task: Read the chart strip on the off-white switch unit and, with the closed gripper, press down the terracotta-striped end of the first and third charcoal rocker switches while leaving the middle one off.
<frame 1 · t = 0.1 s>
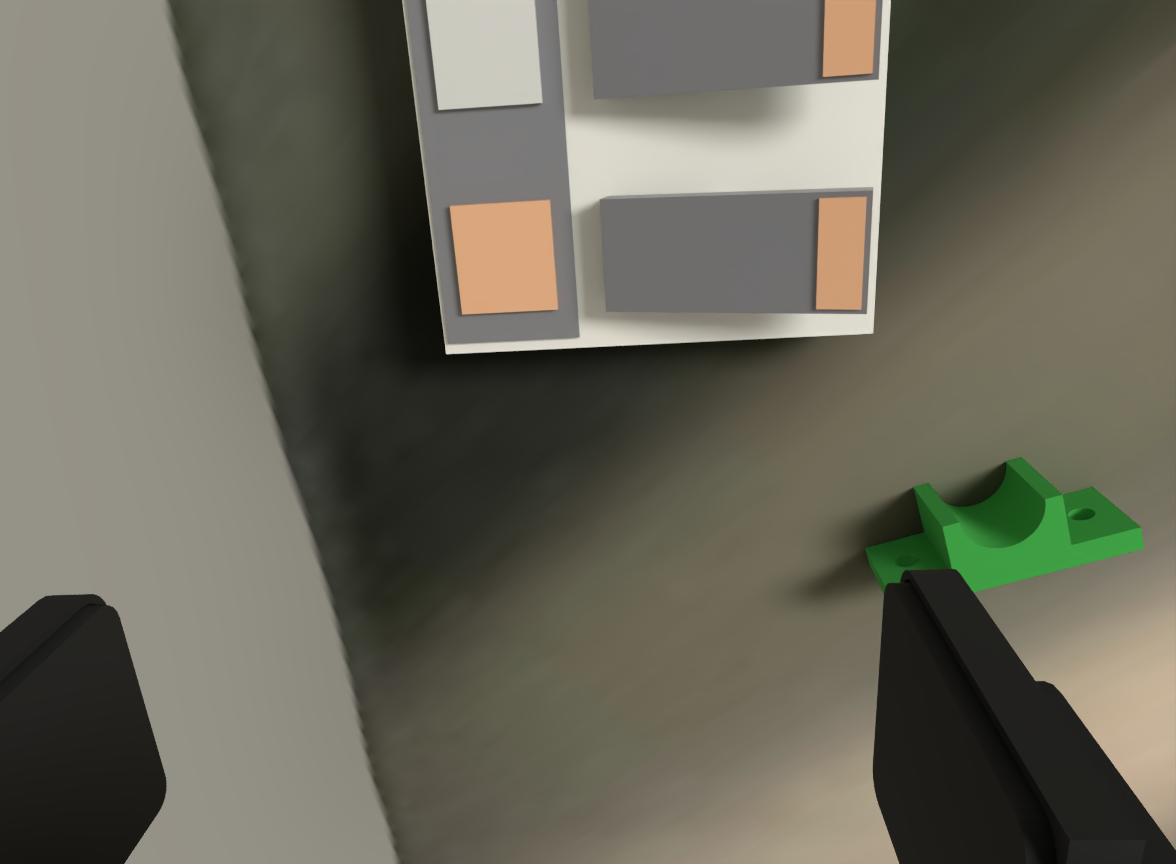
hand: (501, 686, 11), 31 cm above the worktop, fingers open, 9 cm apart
pipe clamp: (973, 503, 43), on the worktop
switch unit: (643, 40, 36), on the worktop
rocker 2: (731, 22, 30), point 6 cm above the worktop, hinge at 15.0°
rocker 3: (732, 253, 33), point 6 cm above the worktop, hinge at 15.0°
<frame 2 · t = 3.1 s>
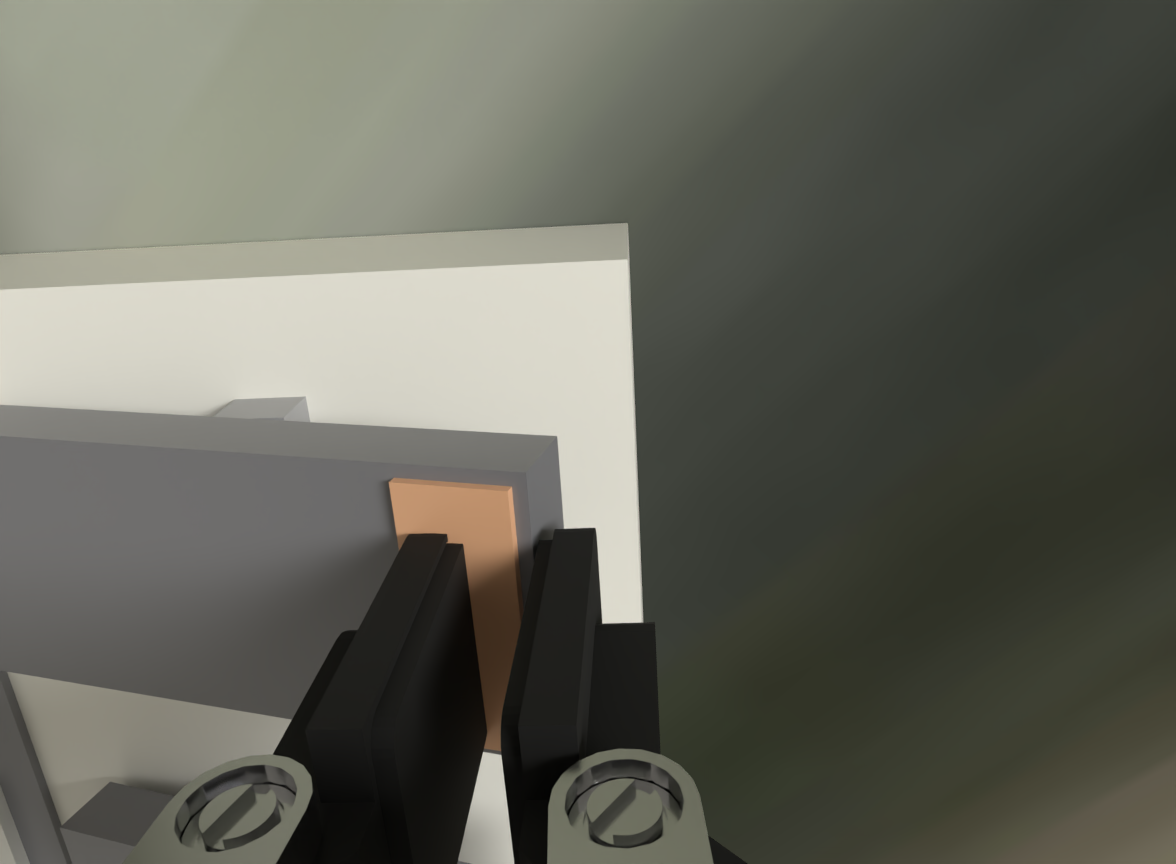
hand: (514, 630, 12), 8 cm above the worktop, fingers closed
switch unit: (289, 725, 22), on the worktop
rocker 1: (239, 570, 13), point 6 cm above the worktop, hinge at 13.9°, touching gripper
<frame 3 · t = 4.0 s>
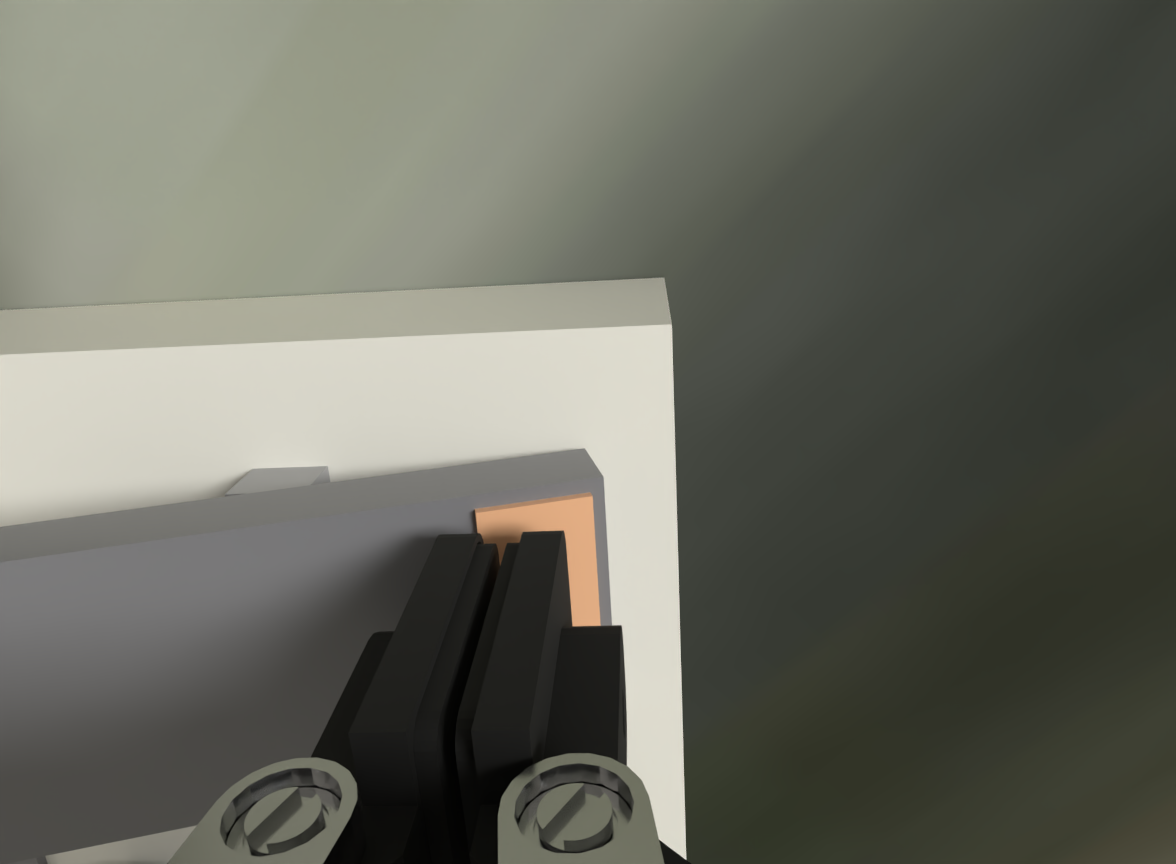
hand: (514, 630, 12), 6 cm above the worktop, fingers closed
switch unit: (303, 795, 21), on the worktop
rocker 1: (258, 656, 12), point 6 cm above the worktop, hinge at -16.0°
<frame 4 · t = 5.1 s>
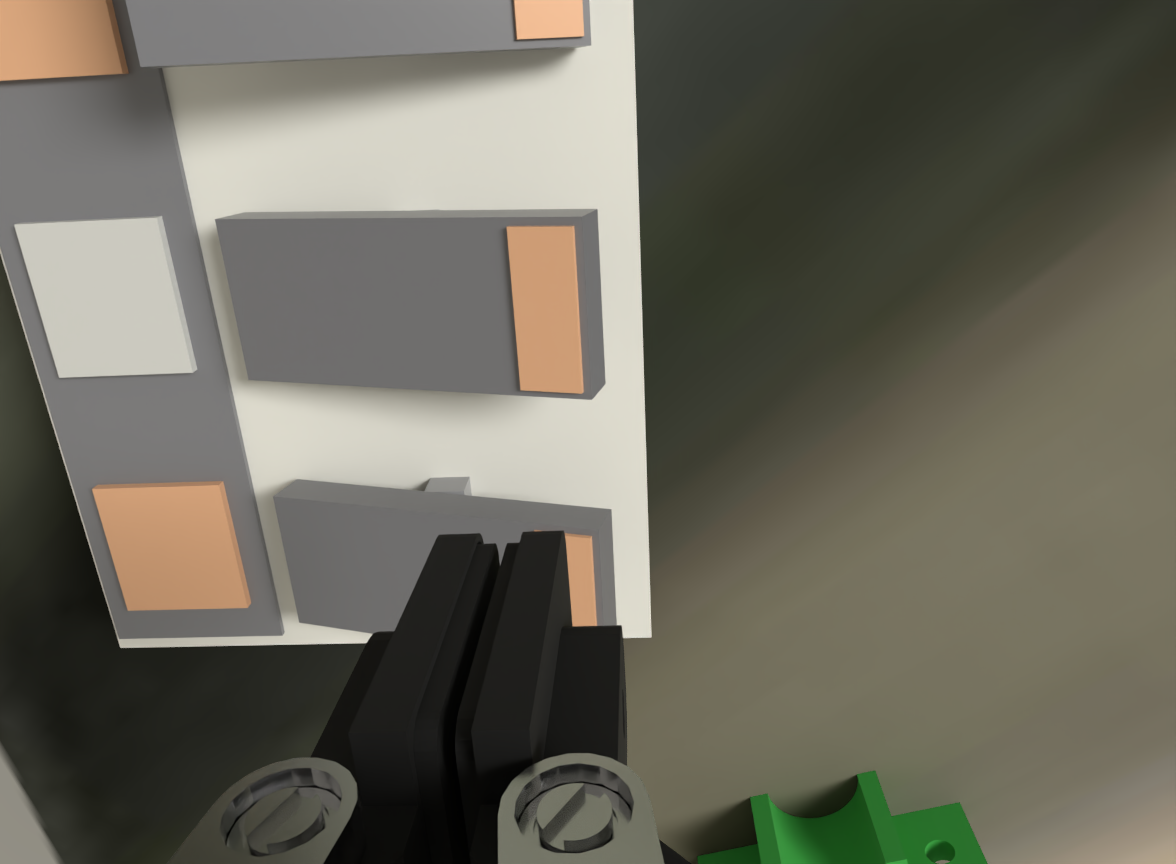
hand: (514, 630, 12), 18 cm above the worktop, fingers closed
pipe clamp: (822, 812, 37), on the worktop
switch unit: (361, 260, 28), on the worktop
rocker 2: (407, 301, 22), point 6 cm above the worktop, hinge at 15.0°
rocker 3: (443, 571, 25), point 6 cm above the worktop, hinge at 15.0°
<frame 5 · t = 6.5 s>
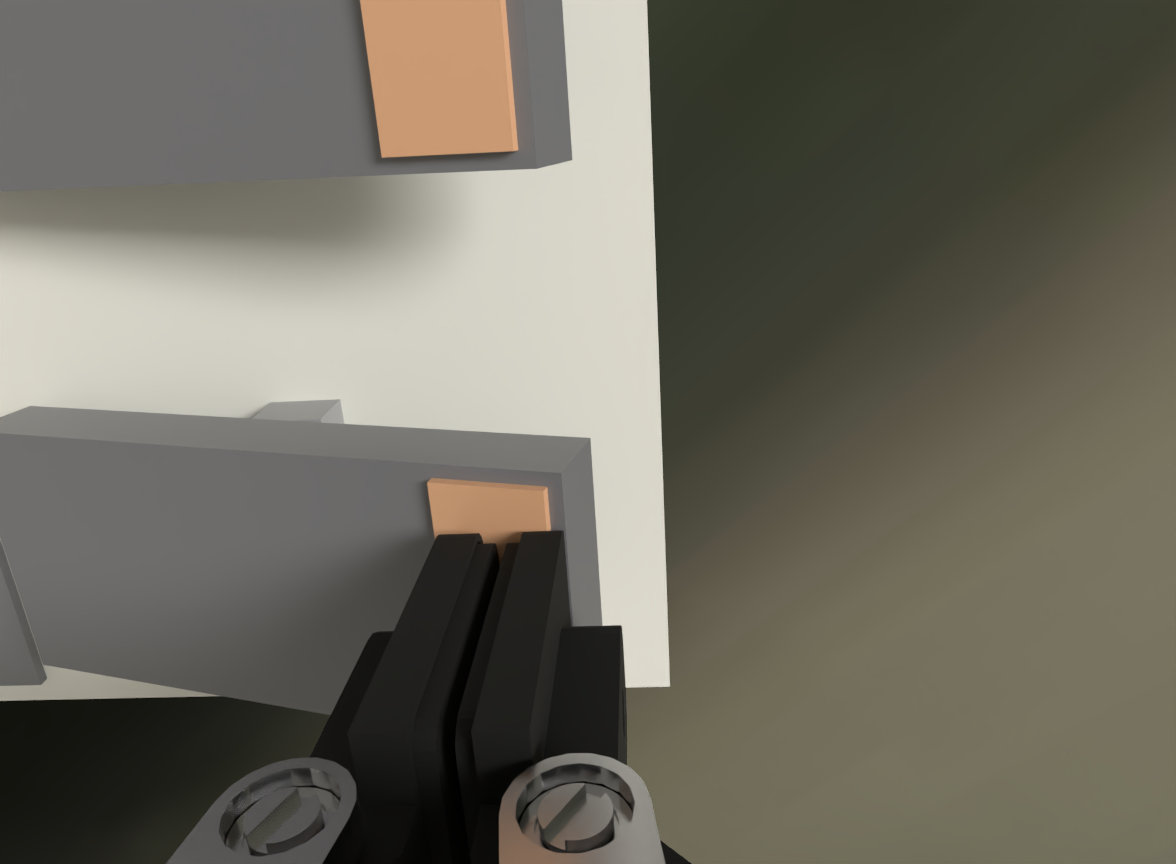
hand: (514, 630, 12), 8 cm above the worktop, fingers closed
switch unit: (170, 42, 17), on the worktop
rocker 3: (278, 568, 13), point 6 cm above the worktop, hinge at 14.9°, touching gripper
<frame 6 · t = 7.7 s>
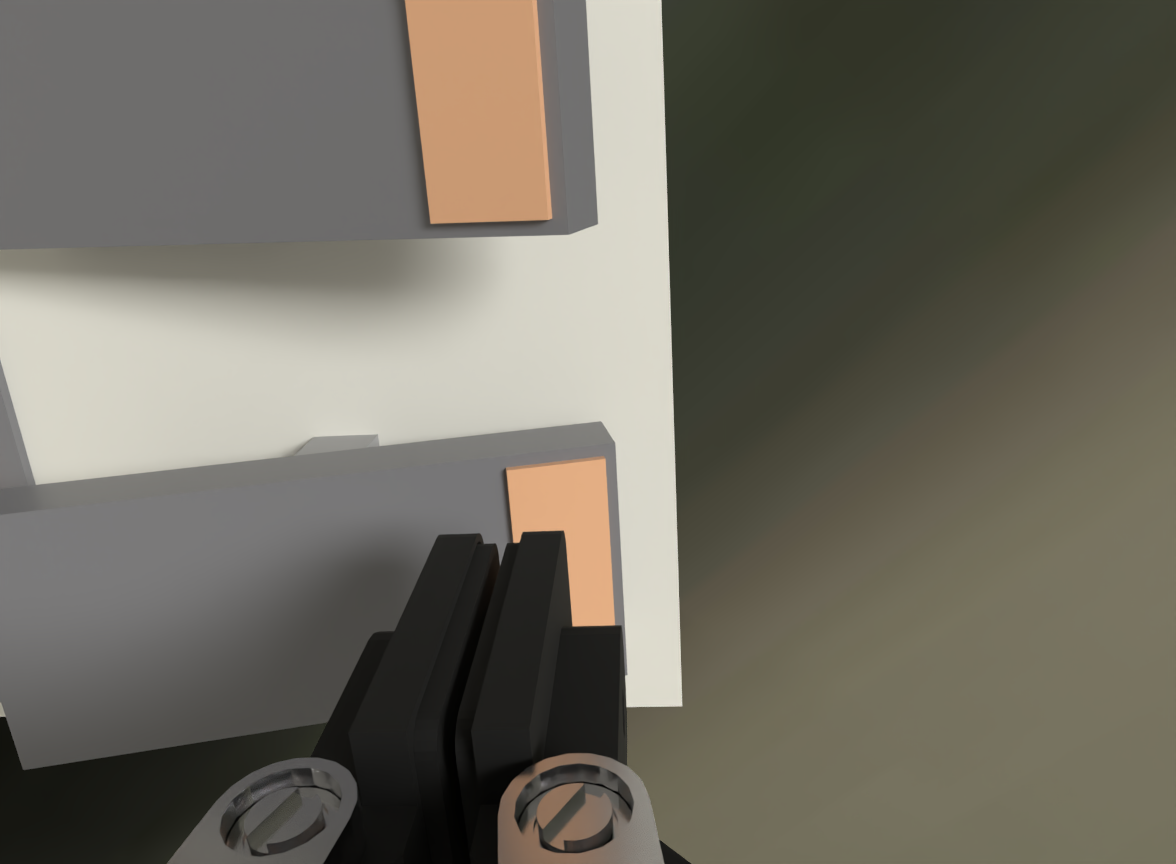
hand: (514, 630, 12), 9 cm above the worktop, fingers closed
switch unit: (223, 104, 18), on the worktop
rocker 2: (230, 77, 12), point 6 cm above the worktop, hinge at 15.0°
rocker 3: (323, 590, 15), point 6 cm above the worktop, hinge at -13.4°
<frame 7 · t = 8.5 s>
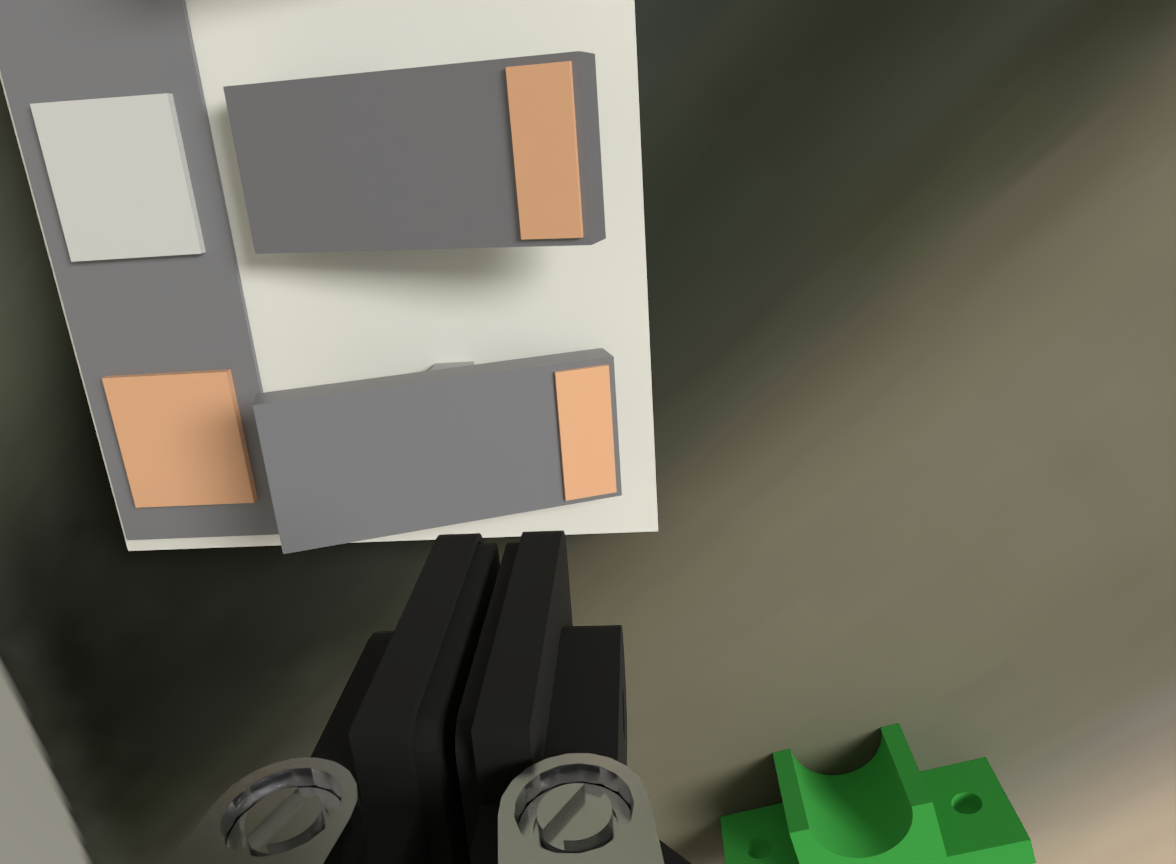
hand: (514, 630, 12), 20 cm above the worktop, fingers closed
pipe clamp: (846, 769, 36), on the worktop
switch unit: (367, 159, 29), on the worktop
rocker 2: (410, 161, 23), point 6 cm above the worktop, hinge at 15.0°
rocker 3: (448, 447, 25), point 6 cm above the worktop, hinge at -18.3°, touching switch unit
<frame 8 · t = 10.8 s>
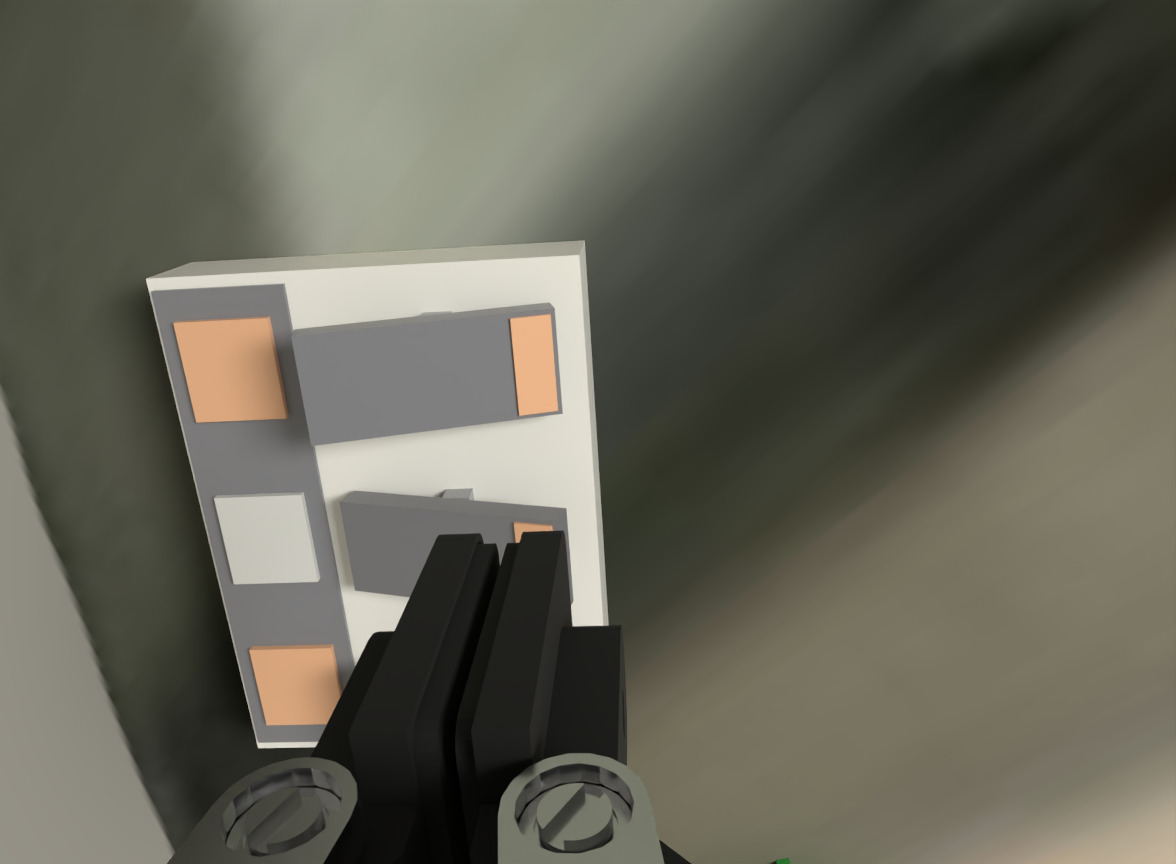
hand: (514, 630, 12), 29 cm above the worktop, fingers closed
switch unit: (419, 494, 43), on the worktop
rocker 2: (455, 552, 37), point 6 cm above the worktop, hinge at 15.0°
rocker 1: (432, 373, 35), point 6 cm above the worktop, hinge at -14.9°
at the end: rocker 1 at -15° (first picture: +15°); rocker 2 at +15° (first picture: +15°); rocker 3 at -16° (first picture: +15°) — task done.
